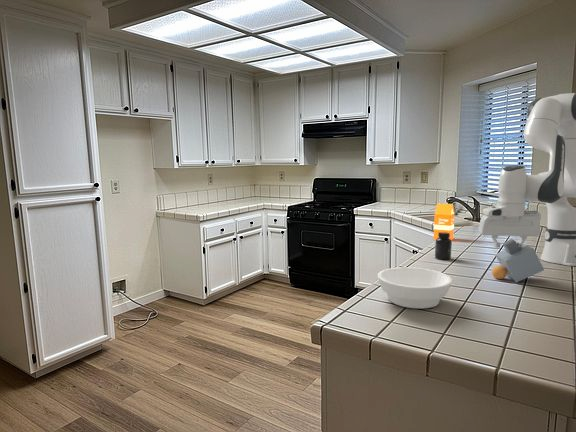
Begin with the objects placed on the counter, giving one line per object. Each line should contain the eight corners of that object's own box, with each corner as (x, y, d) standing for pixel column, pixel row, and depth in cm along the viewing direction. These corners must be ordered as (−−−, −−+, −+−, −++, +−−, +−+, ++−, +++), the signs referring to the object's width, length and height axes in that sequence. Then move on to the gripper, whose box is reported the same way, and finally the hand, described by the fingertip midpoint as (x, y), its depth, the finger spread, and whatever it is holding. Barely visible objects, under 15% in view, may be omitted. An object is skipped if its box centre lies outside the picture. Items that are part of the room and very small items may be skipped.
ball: (503, 276, 151) (503, 263, 150) (509, 280, 146) (509, 267, 145) (489, 277, 152) (489, 264, 151) (494, 281, 147) (494, 267, 146)
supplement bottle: (452, 260, 176) (453, 234, 174) (436, 260, 177) (437, 233, 176) (449, 257, 183) (450, 231, 181) (433, 256, 184) (434, 231, 182)
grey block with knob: (531, 262, 151) (516, 233, 150) (544, 270, 141) (528, 238, 140) (505, 274, 153) (490, 245, 152) (516, 282, 143) (500, 251, 142)
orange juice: (437, 237, 229) (438, 203, 226) (453, 238, 224) (455, 203, 221) (433, 239, 223) (434, 204, 220) (449, 241, 217) (451, 205, 215)
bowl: (443, 321, 111) (444, 292, 110) (366, 306, 123) (367, 280, 121) (457, 297, 130) (458, 272, 129) (389, 286, 142) (390, 264, 140)
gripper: (536, 209, 146) (534, 246, 148) (478, 209, 149) (476, 245, 151) (545, 211, 140) (542, 249, 142) (484, 211, 143) (482, 248, 144)
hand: (508, 247), depth 146 cm, fingers open, 6 cm apart
